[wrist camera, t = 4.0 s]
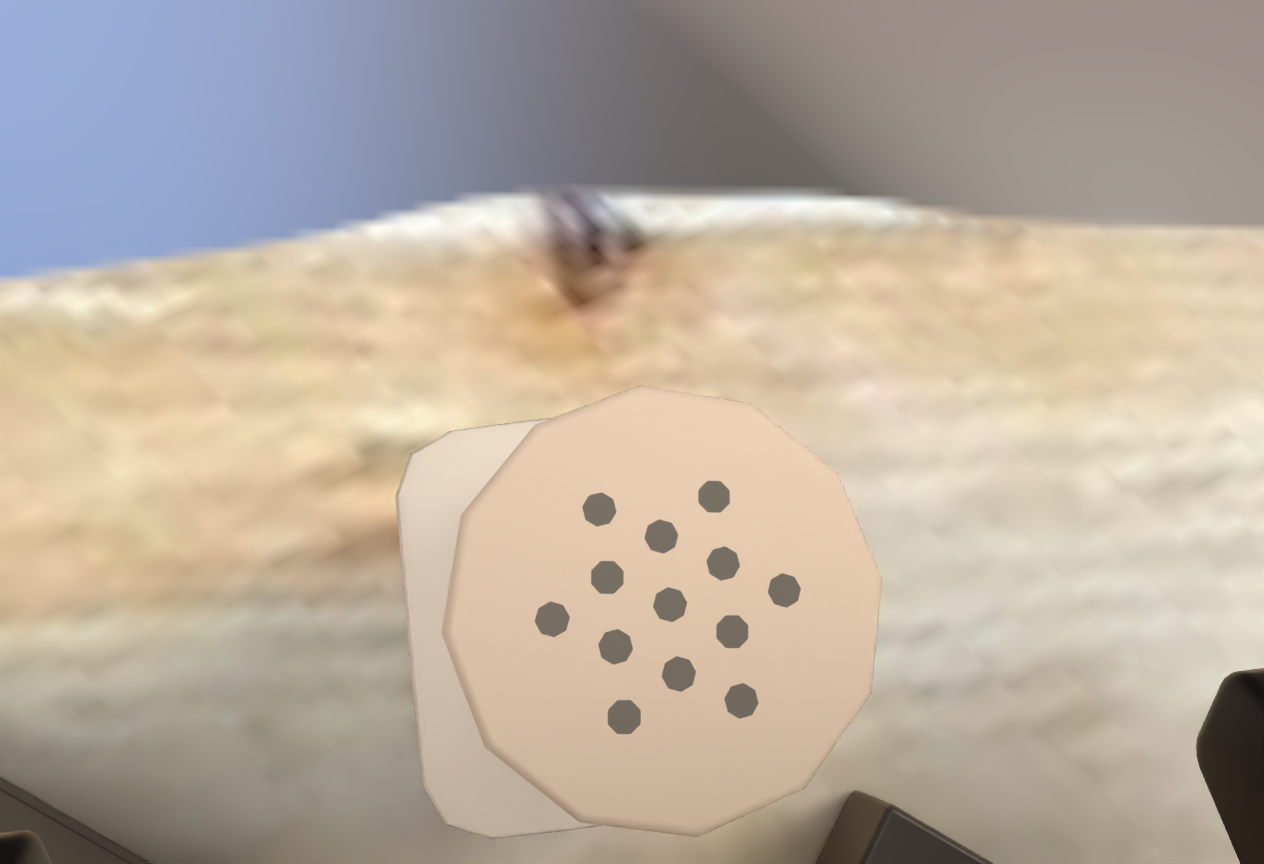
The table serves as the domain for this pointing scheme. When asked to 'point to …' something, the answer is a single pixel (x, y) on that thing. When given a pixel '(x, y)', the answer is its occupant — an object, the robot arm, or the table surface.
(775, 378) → the table surface
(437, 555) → the pepper shaker
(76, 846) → the dark grey open box
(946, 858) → the button base
